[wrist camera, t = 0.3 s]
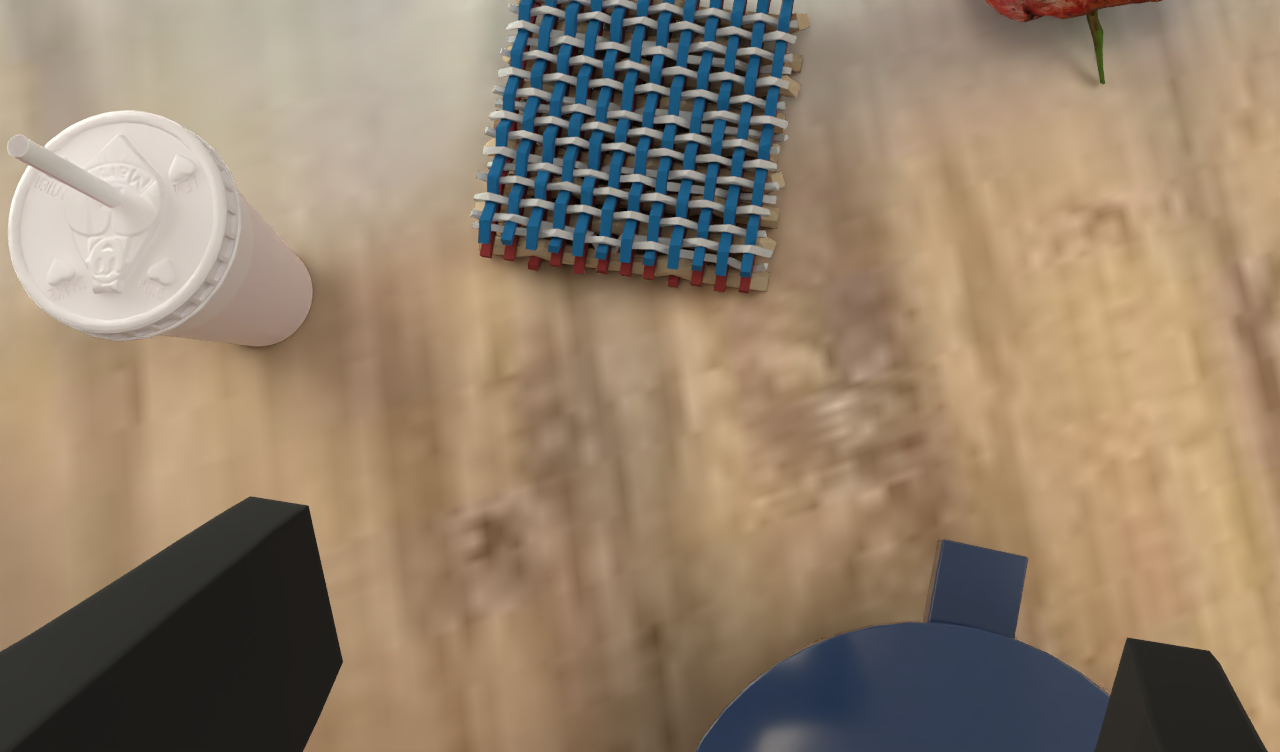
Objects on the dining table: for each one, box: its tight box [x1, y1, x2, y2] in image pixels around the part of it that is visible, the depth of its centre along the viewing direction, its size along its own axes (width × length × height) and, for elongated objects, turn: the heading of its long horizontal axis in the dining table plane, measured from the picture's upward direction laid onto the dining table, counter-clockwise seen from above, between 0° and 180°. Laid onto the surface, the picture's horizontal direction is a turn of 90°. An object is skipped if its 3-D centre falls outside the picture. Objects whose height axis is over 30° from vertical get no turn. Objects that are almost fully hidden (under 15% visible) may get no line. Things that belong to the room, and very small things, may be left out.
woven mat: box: [470, 0, 810, 293], centre depth 40 cm, size 10×11×2 cm
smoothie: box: [7, 110, 313, 347], centre depth 35 cm, size 6×6×14 cm
